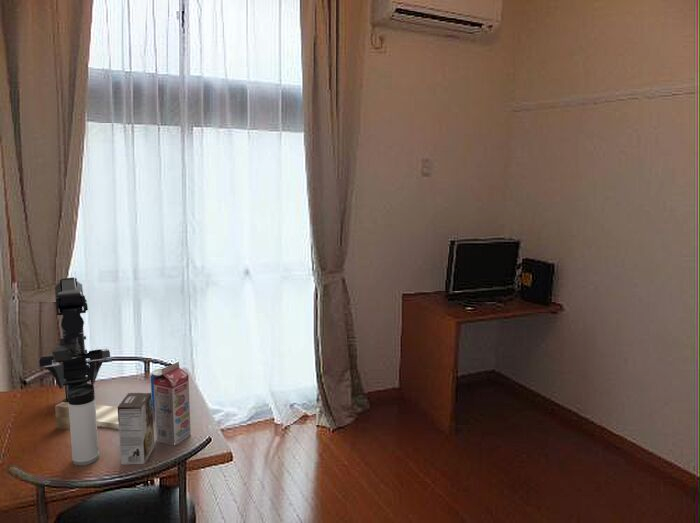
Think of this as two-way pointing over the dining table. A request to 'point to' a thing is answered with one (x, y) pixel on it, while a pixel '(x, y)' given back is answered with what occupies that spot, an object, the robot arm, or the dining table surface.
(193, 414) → the dining table surface
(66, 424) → the block
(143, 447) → the coffee box
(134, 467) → the dining table surface
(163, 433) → the milk carton
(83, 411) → the travel mug
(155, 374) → the beverage can
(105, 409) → the board
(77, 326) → the robot arm
